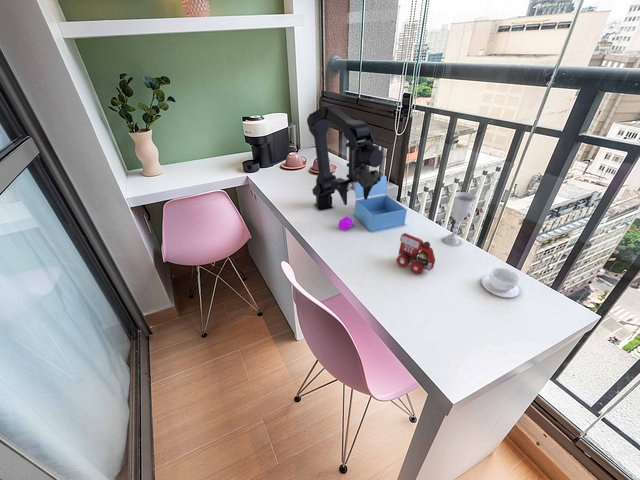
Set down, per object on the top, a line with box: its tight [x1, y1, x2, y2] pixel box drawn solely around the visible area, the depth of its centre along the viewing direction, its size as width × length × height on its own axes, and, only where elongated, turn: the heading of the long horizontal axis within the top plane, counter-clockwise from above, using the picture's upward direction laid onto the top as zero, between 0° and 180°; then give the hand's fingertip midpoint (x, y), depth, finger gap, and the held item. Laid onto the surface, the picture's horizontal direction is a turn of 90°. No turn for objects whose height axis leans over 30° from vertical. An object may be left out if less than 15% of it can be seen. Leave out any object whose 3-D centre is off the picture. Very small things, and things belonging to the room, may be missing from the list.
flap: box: [354, 175, 388, 200], centre depth 128 cm, size 7×15×1 cm
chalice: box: [443, 191, 477, 246], centre depth 108 cm, size 7×7×18 cm
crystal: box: [338, 216, 354, 231], centre depth 122 cm, size 5×5×5 cm
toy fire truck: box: [396, 232, 436, 275], centre depth 99 cm, size 7×12×10 cm, turn 44°
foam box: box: [354, 194, 408, 233], centre depth 126 cm, size 15×15×7 cm
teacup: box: [481, 267, 521, 298], centre depth 91 cm, size 10×10×5 cm
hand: (355, 202), depth 117 cm, fingers open, 9 cm apart
